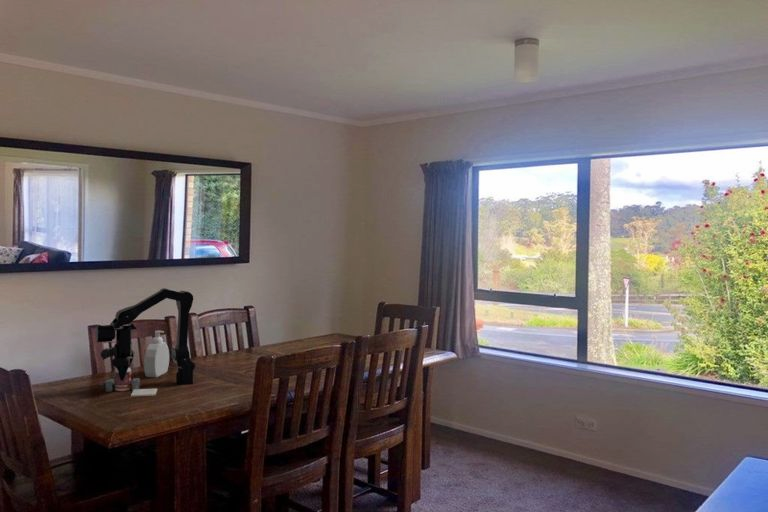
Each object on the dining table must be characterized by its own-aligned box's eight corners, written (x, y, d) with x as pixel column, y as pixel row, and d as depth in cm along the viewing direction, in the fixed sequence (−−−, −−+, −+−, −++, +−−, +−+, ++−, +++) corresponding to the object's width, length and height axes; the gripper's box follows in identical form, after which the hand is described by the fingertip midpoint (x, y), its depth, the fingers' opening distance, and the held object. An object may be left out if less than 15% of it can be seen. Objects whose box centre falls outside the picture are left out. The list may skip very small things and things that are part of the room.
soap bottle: (155, 378, 265) (156, 333, 265) (143, 378, 265) (144, 333, 265) (170, 370, 281) (170, 328, 281) (158, 370, 281) (159, 328, 281)
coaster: (157, 389, 246) (157, 388, 246) (155, 395, 237) (155, 394, 237) (133, 390, 244) (133, 389, 244) (130, 396, 235) (130, 395, 235)
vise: (140, 385, 252) (140, 376, 252) (138, 390, 245) (138, 380, 244) (101, 387, 248) (101, 377, 248) (97, 392, 240) (97, 382, 240)
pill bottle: (132, 390, 244) (132, 363, 244) (116, 392, 241) (116, 364, 241) (129, 387, 250) (129, 360, 249) (113, 388, 246) (113, 362, 246)
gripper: (106, 337, 252) (105, 374, 252) (97, 345, 234) (97, 384, 234) (134, 336, 255) (134, 373, 255) (128, 344, 237) (128, 383, 237)
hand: (123, 378), depth 245 cm, fingers closed on pill bottle, 6 cm apart
